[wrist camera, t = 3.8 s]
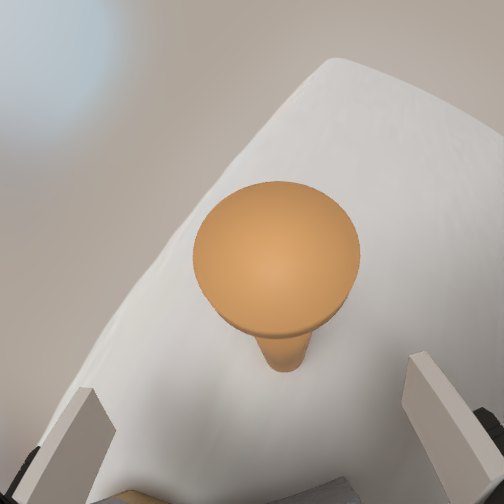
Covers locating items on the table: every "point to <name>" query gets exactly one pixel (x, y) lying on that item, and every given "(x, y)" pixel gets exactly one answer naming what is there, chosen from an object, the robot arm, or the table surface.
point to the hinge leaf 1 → (137, 498)
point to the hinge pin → (277, 265)
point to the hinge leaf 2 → (302, 495)
